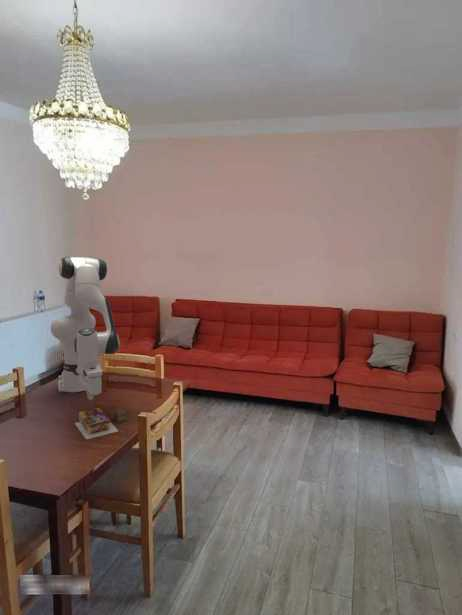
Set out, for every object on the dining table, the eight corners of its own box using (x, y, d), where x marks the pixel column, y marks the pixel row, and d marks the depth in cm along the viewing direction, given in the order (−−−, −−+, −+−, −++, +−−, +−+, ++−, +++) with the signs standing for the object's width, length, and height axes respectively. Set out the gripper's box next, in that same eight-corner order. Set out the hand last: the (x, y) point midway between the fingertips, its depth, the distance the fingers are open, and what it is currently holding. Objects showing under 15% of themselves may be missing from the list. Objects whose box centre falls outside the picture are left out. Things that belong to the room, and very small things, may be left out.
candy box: (79, 421, 184) (88, 434, 172) (78, 411, 184) (87, 424, 171) (99, 416, 189) (110, 429, 176) (99, 407, 188) (109, 419, 176)
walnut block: (113, 419, 187) (112, 411, 186) (121, 417, 190) (120, 408, 189) (118, 422, 184) (118, 413, 184) (126, 419, 187) (126, 410, 186)
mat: (74, 424, 182) (74, 423, 182) (105, 417, 189) (105, 416, 189) (86, 439, 168) (86, 438, 168) (118, 431, 175) (118, 430, 175)
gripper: (74, 362, 187) (76, 392, 189) (88, 375, 170) (89, 408, 172) (89, 360, 190) (90, 389, 193) (103, 372, 174) (105, 404, 176)
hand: (90, 398), depth 182 cm, fingers closed
